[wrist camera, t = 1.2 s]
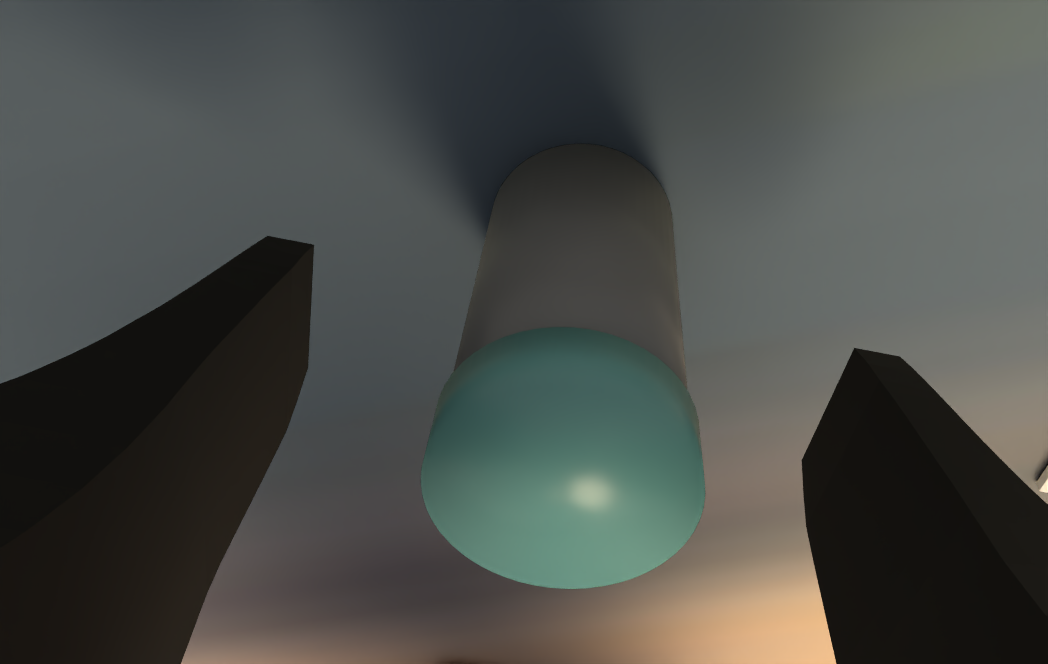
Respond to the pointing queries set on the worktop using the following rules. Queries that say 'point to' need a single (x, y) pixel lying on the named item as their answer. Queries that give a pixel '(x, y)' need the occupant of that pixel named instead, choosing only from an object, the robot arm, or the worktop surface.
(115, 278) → the worktop surface
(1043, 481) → the paper
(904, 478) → the robot arm
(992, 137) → the worktop surface
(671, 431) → the marker
